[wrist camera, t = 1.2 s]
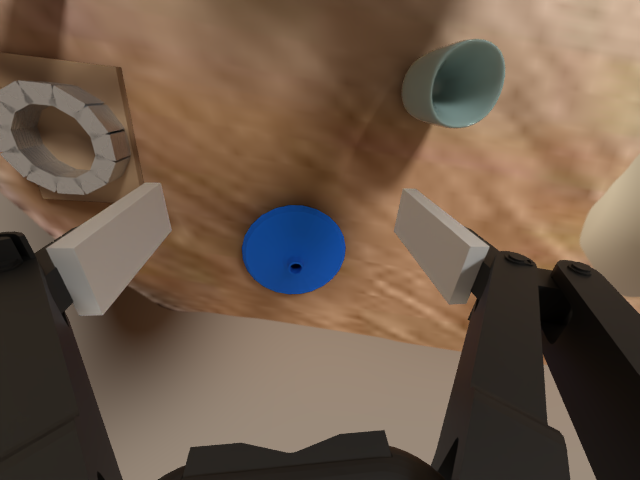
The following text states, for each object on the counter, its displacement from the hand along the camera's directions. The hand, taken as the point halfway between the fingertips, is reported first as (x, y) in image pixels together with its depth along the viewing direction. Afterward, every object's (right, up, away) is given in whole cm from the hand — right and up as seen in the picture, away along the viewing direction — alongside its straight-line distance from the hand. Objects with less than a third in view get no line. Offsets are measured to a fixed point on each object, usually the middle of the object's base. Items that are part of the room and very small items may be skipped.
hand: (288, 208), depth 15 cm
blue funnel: (-2, -2, +29) cm, 29 cm away
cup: (+15, +18, +20) cm, 31 cm away
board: (-28, +11, +18) cm, 35 cm away
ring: (-27, +10, +17) cm, 34 cm away
